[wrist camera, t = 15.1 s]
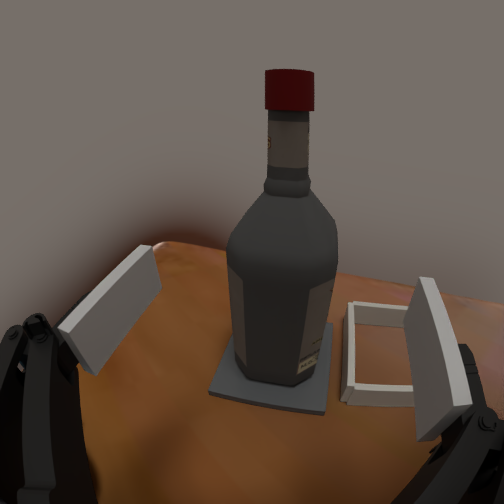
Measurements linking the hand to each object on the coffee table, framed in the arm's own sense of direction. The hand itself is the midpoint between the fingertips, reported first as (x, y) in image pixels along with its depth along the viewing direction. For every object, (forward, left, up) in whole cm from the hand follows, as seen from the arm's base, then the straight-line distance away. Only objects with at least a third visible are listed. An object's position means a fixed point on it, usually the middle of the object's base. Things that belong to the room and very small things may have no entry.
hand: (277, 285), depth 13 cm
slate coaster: (+1, -11, -21) cm, 24 cm away
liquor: (+1, -11, -20) cm, 23 cm away
